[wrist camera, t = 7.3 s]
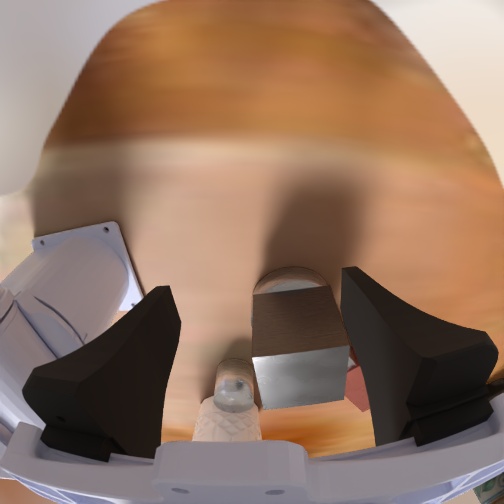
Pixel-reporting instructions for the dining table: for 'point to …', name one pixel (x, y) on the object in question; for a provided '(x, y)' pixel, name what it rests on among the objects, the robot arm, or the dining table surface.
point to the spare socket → (234, 386)
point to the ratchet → (306, 279)
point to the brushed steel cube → (299, 347)
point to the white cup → (226, 424)
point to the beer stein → (500, 487)
